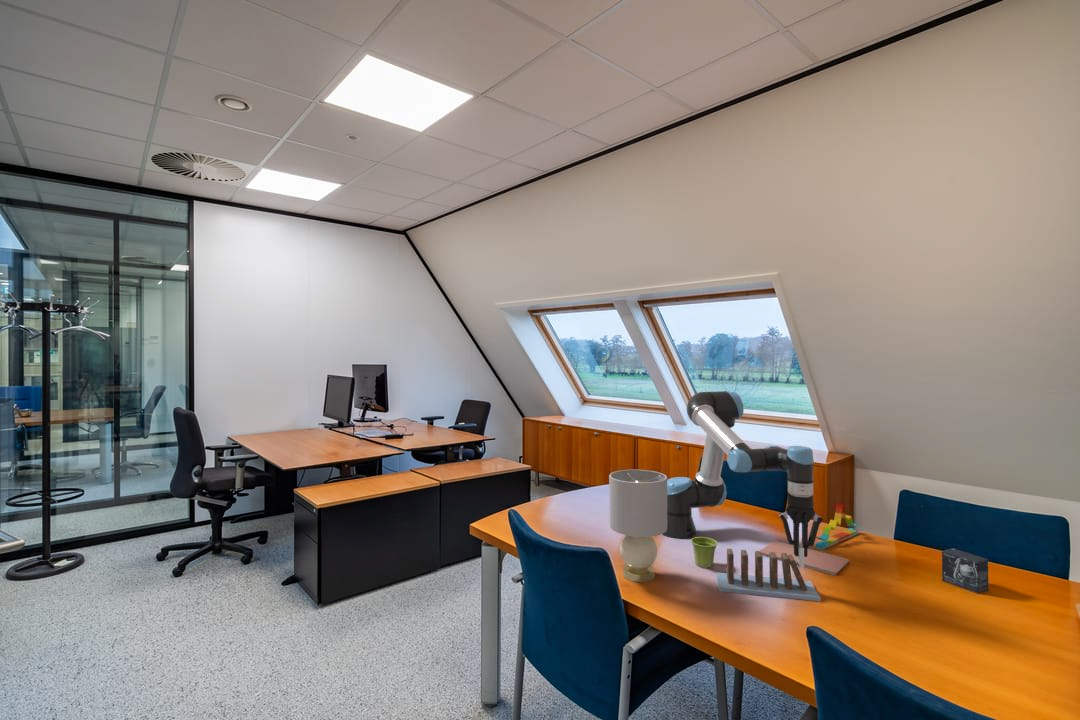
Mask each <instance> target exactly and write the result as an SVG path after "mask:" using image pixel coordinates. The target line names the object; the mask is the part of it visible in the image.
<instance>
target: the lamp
mask: <svg viewBox="0 0 1080 720" xmlns="http://www.w3.org/2000/svg"><path fill="white" fill-rule="evenodd" d="M667 480H668V477H667V475H666V474H664V473H662V472H658V471H653V470H647V469H623V470H622V469H621V470H617V471H613V472H611V473H610V474H609V475H608V481H609V483H608V484H609V485H608V486H609V528H610V529H611V530H612V531H613V532H616V533H618V534H621V535H624V537H623V538H622V540H621V542H620V545H619V552H620V555H621V558H622V560H623V562H624V563H625V564H624V565H623V568H622V569H623V570H622V572H623V574H622V575H623V577H624V578H625V579H627V580H628V581H631V582H635V583H647V582H651V581H652V580H654V579H655V575H656V574H655V573H656V571H655V568H654V567H653V564H655V562H656V560H657V557H658V547H657V544H656V541H655V540H654V538H653V537H656V536H662V535H663V533H665V532H666V531H667Z"/></svg>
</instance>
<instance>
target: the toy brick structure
mask: <svg viewBox="0 0 1080 720" xmlns="http://www.w3.org/2000/svg"><path fill="white" fill-rule="evenodd" d="M842 519H845V521H846V524H847V526H849V528H847V529H848V530H849V531H848V530H847V529H846V530H843V531H840V532H839V533H836V534H834V535H832V536H830V534H831V530H833V531H834V530H835V531H836V526H839V527H840V526H841V524H842V523H841V522H842ZM857 526H858V524H857V523H854V520H853V517H852V515H848V514H846V512H845V507H844V504H841V503H836V504H835V512H834V519H830V520H829V522H828V524H827V525H826V524H824V525H823V530H822V533H821V536H816V539H818V540H819V541H818V542H815V543H814V546H815V549H818V550H822V551H823V550H826V549H827V548H830V547H833V546H834V545H837V544H838V543H840V542H844V541H845V540H848V539H850V538H852V537H854V536H856V535H858V534H859V529H856V527H857ZM850 530H852V531H850ZM853 531H856V532H853Z"/></svg>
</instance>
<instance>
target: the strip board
mask: <svg viewBox="0 0 1080 720" xmlns="http://www.w3.org/2000/svg"><path fill="white" fill-rule="evenodd" d="M715 574H716V580H717V581H716V582H717V585H718V590H719V592H722V593H723V592H727V593H733V594H734V593H735V594H745V595H754V596H763V597H764V596H765V597H775V598H783V599H795V600H803V601H811V602H812V601H814V602H821V596H820V594H819V593H818V591H817V589H816V588H815V586H814V584H813V583H812V581H811V580H804V583H805V585H806V587H807V589H808V590H805V591H802V589H801V587H800V586H799V584H798V581H797V579H793V578H792V587H793V590H787V588H786V586H785V584H784V577H783V578H782V577H781V578H780V577H778V589H776V588H772V586H771V584H770V576H763V587H758V586H757V584H756V581H755V575H749V574H748V586H746V585H743V583H742V580H741V574H738V573H734V584H729V583H728V579H727V572H726V573H725V572H716V573H715Z"/></svg>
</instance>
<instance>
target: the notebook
mask: <svg viewBox="0 0 1080 720" xmlns="http://www.w3.org/2000/svg"><path fill="white" fill-rule="evenodd" d="M759 551H760V552H761V554H762V556H763V557H767V558H769V552H775V554H776V556H777V558H778V561H781V562H782V559H781V553H786V554H787V555H790V554H791V555H792V556H793V558H794V560H795V562H796V564H797V556H795V555H794V545H791V544H789V543H787V542H784V541H783V542H782V541H780V542H779V541H776V540H774V541H772V542H770V543H769V544H768V545H766V546H764V547H763V548H761V549H760V550H759ZM849 561H850V559H847V558H844V557H843V556H838V555H835V554H830V553H828V552H827V553H826V552H824V551H820V550H816V549H815V550H814V549H810V548H809V547H808V548H807V557H804V568H808V569H811V570H814V571H819V572H822V573H825V574H829V575H833V576H836V575H837V574H838V573H839V572H840V571H841V570H842V569H843V568H844V567H845V566H846V565H847V564H848V563H849Z"/></svg>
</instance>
